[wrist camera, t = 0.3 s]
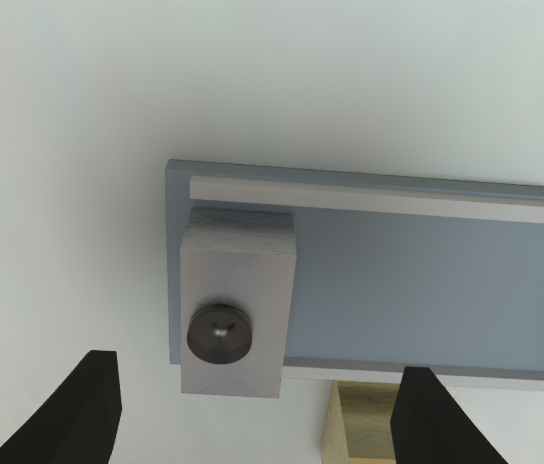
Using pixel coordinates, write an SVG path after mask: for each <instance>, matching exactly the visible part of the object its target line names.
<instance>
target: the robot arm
mask: <svg viewBox="0 0 544 464" xmlns="http://www.w3.org/2000/svg"><path fill="white" fill-rule="evenodd" d="M121 412H122V403H121V393H120V383H119V373H118V363H117V353H116V351H101V350H91V351H89V352H88V353H87V354H86V355H85V356H84V358H83V359H82V360H81V361H80V363H79V364H78V365H77V366H76V367H75V368H74V370H73V371H72V372H71V373H70V374H69V376H68V377H67V378H66V379H65V380H64V381H63V382H62V384H61V385H60V386H59V387H58V388H57V389H56V390H55V392H54V393H53V394H52V395H51V396H50V397H49V398H48V399H47V400H46V401H45V402H44V403H43V405H42V406H41V407H40V408H39V409H38V410H37V411H36V412H35V413H34V414H33V415H32V416H31V417H30V418H29V419H28V420H27V421H26V423H25V424H23V425H22V426H21V427H20V428H19V429H18V430H17V431H16V432H15V433H14V434H13V435H12V436H11V437H10V438H9V439H8V440H7V441H6V442H5V443H4V444H3V445H2V446H1V447H0V464H108V462H109V459H110V456H111V454H112V451H113V447H114V443H115V438H116V434H117V430H118V426H119V421H120V417H121ZM390 427H391V434H392V441H393V448H394V454H395V460H396V464H508V463H507V462H506V461H505V459H504V458H503V457H502V456H501V455H500V454H499V453H498V452H497V451H496V449H495V448H494V447H493V446H492V445H491V444H490V442H489V441H488V440H487V439H486V438H485V437H484V435H483V434H482V433H481V432H480V431H479V429H478V428H477V427H476V426H475V425H474V424H473V422H472V421H471V420H470V419H469V417H468V416H467V415H466V414H465V412H464V411H463V410H462V409H461V407H460V406H459V405H458V404H457V402H456V401H455V400H454V399H453V397H452V396H451V395H450V393H449V392H448V391H447V390H446V388H445V387H444V386H443V384H442V383H441V382H440V381H439V379H438V378H437V377H436V375H435V374H434V373H433V372H432V370H431V369H430V368H429V367H413V366H405V368H404V372H403V375H402V379H401V383H400V386H399V390H398V394H397V397H396V401H395V405H394V408H393V412H392V415H391V419H390Z"/></svg>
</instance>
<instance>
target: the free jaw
mask: <svg viewBox="0 0 544 464" xmlns="http://www.w3.org/2000/svg"><path fill="white" fill-rule="evenodd" d="M296 257H297V254H296V242H295V231H294V219H293V215H289V214H275V213H260V212H246V211H232V210H217V209H203V208H191V211H190V215H189V218H188V222H187V225H186V229H185V232H184V236H183V239H182V243H181V246H180V300H181V393H188V394H207V395H226V396H245V397H264V398H279V393H280V385H281V377H282V369H283V361H284V353H285V345H286V337H287V329H288V321H289V313H290V305H291V297H292V289H293V281H294V273H295V265H296Z"/></svg>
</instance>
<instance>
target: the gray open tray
mask: <svg viewBox="0 0 544 464" xmlns="http://www.w3.org/2000/svg"><path fill="white" fill-rule="evenodd" d="M165 176H166V217H167V258H168V300H169V341H170V364H181V300H180V246H181V243H182V239H183V236H184V232H185V229H186V225H187V222H188V218H189V215H190V211H191V208H203V209H217V210H232V211H246V212H260V213H275V214H289V215H293V219H294V231H295V242H296V254H297V257H296V265H295V273H294V281H293V289H292V297H291V305H290V313H289V321H288V329H287V337H286V345H285V353H284V361H283V369H282V377H289V378H307V379H325V380H344V381H362V382H380V383H398V384H400V383H401V379H402V375H403V372H404V368H405V366H413V367H429V368H430V369H431V370H432V372H433V373H434V374H435V375H436V377H437V378H438V379H439V381H440V382H441V383H442V384H443V386H453V387H471V388H489V389H507V390H526V391H544V187H537V186H524V185H510V184H497V183H483V182H470V181H456V180H442V179H429V178H415V177H402V176H388V175H375V174H361V173H347V172H334V171H320V170H307V169H293V168H279V167H266V166H252V165H239V164H225V163H212V162H198V161H184V160H171V159H170V160H169V162H168V165H167V167H166V169H165Z"/></svg>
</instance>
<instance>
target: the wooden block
mask: <svg viewBox="0 0 544 464" xmlns="http://www.w3.org/2000/svg"><path fill="white" fill-rule="evenodd" d="M399 386H400V384H398V383H380V382H362V381H344V380H334V383H333V388H332V393H331V398H330V403H329V408H328V414H327V419H326V424H325V429H324V434H323V439H322V444H321V459H322V464H396V460H395V454H394V448H393V441H392V434H391V427H390V419H391V415H392V412H393V408H394V405H395V401H396V397H397V394H398V390H399Z"/></svg>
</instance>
